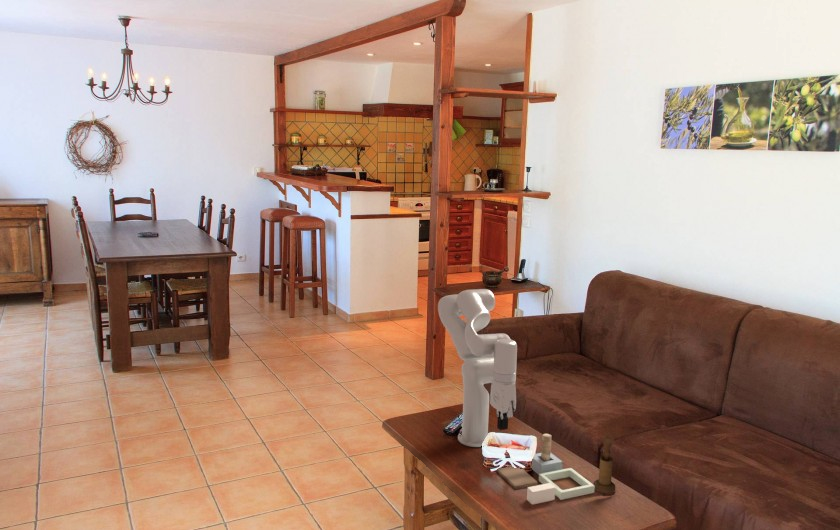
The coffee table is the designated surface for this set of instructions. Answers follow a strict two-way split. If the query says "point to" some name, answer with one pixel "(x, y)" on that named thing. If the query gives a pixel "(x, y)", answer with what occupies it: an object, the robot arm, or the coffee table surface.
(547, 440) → the dowel
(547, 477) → the cream square frame
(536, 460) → the socket
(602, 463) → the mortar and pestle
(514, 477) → the board
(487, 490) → the coffee table surface
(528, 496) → the block
